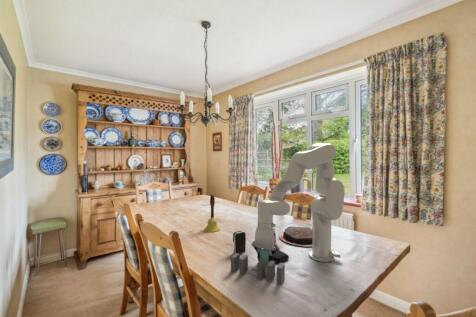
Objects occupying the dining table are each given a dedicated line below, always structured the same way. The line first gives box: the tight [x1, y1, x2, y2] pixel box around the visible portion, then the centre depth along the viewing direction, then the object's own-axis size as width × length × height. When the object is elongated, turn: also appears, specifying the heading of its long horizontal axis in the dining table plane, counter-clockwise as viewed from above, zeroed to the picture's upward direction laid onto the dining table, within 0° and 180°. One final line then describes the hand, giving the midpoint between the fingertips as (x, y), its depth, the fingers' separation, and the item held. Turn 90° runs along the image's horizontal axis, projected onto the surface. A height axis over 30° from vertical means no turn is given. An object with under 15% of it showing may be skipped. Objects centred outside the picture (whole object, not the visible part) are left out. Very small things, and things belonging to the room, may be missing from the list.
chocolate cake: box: [278, 226, 312, 248], centre depth 150 cm, size 28×28×7 cm
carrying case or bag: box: [267, 247, 290, 264], centre depth 124 cm, size 11×3×15 cm
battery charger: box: [232, 230, 247, 254], centre depth 130 cm, size 7×4×11 cm, turn 122°
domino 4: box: [256, 259, 267, 281], centre depth 103 cm, size 2×5×7 cm, turn 153°
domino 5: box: [266, 261, 276, 283], centre depth 102 cm, size 2×5×7 cm, turn 153°
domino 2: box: [238, 254, 249, 276], centre depth 107 cm, size 2×5×7 cm, turn 153°
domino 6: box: [276, 262, 286, 286], centre depth 100 cm, size 2×5×7 cm, turn 153°
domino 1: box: [230, 253, 241, 274], centre depth 109 cm, size 2×5×7 cm, turn 153°
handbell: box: [203, 194, 222, 234], centre depth 167 cm, size 12×12×25 cm
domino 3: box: [260, 248, 270, 266], centre depth 115 cm, size 2×5×7 cm, turn 63°
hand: (265, 261), depth 115 cm, fingers closed on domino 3, 4 cm apart
